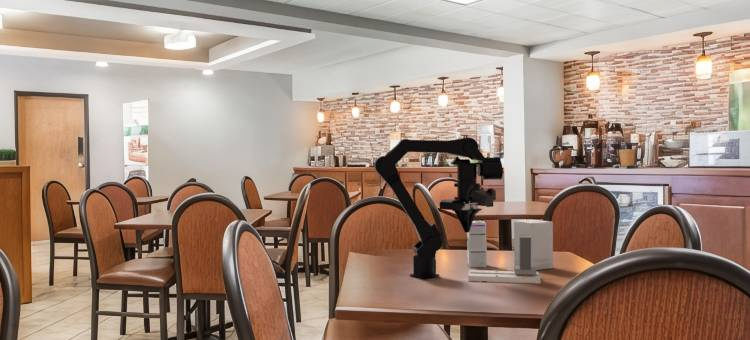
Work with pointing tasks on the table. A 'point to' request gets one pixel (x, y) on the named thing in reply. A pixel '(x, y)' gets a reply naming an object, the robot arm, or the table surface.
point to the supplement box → (535, 242)
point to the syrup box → (477, 245)
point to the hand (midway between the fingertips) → (467, 232)
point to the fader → (525, 257)
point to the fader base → (502, 276)
